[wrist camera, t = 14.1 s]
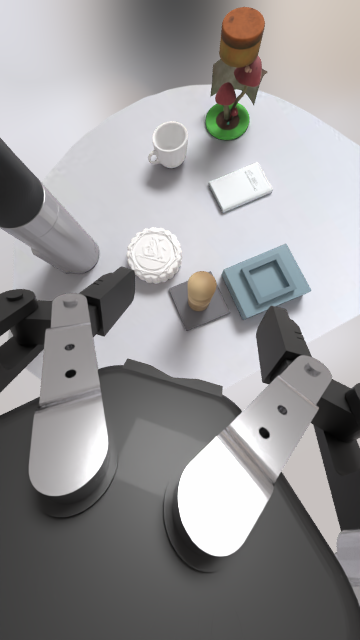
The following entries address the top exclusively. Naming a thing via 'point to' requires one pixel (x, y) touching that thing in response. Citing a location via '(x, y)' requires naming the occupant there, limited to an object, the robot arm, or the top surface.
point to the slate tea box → (265, 281)
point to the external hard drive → (240, 187)
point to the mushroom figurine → (236, 72)
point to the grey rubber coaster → (197, 318)
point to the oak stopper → (200, 290)
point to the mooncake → (154, 255)
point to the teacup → (169, 144)
